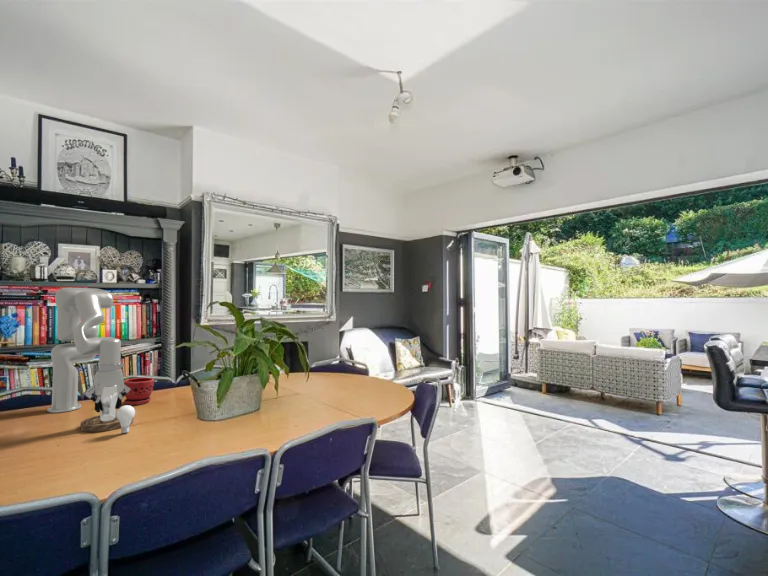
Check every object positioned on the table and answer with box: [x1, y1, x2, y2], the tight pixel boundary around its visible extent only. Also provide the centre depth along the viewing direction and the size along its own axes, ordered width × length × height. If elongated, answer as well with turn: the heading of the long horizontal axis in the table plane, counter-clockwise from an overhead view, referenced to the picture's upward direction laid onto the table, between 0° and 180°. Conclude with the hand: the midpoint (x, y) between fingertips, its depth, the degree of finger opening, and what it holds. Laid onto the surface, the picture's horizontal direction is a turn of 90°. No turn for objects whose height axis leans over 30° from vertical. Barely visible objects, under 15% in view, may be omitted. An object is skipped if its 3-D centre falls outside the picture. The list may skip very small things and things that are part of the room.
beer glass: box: [99, 385, 119, 423], centre depth 163 cm, size 7×7×15 cm
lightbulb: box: [116, 404, 136, 434], centre depth 153 cm, size 6×6×11 cm
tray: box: [80, 414, 135, 433], centre depth 163 cm, size 18×18×3 cm
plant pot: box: [123, 377, 155, 406], centre depth 198 cm, size 13×13×12 cm
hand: (108, 409), depth 163 cm, fingers closed on beer glass, 6 cm apart
